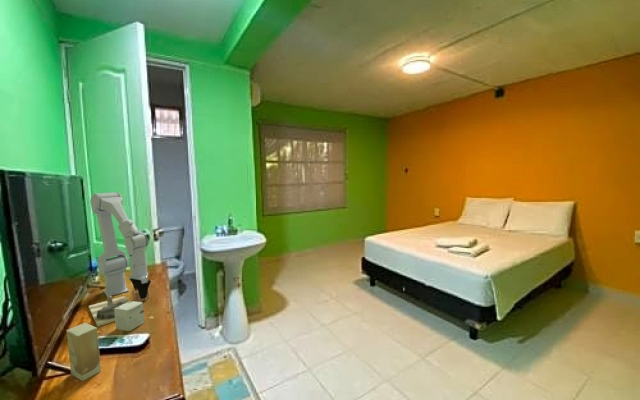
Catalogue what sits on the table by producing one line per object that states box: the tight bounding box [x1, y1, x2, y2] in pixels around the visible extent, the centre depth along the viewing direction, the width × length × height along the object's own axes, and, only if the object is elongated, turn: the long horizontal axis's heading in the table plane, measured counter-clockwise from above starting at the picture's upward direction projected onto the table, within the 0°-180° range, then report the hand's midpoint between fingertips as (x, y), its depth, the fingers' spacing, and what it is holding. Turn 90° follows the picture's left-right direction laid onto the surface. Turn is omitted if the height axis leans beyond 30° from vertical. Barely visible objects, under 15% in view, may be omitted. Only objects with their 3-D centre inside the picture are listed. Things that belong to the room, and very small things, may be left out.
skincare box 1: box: [66, 322, 102, 382], centre depth 75 cm, size 6×4×12 cm
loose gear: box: [132, 288, 151, 303], centre depth 119 cm, size 5×5×4 cm
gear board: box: [88, 295, 130, 328], centre depth 110 cm, size 20×12×4 cm, turn 45°
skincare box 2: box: [114, 300, 146, 332], centre depth 98 cm, size 6×6×7 cm
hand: (141, 295), depth 119 cm, fingers closed on loose gear, 5 cm apart
